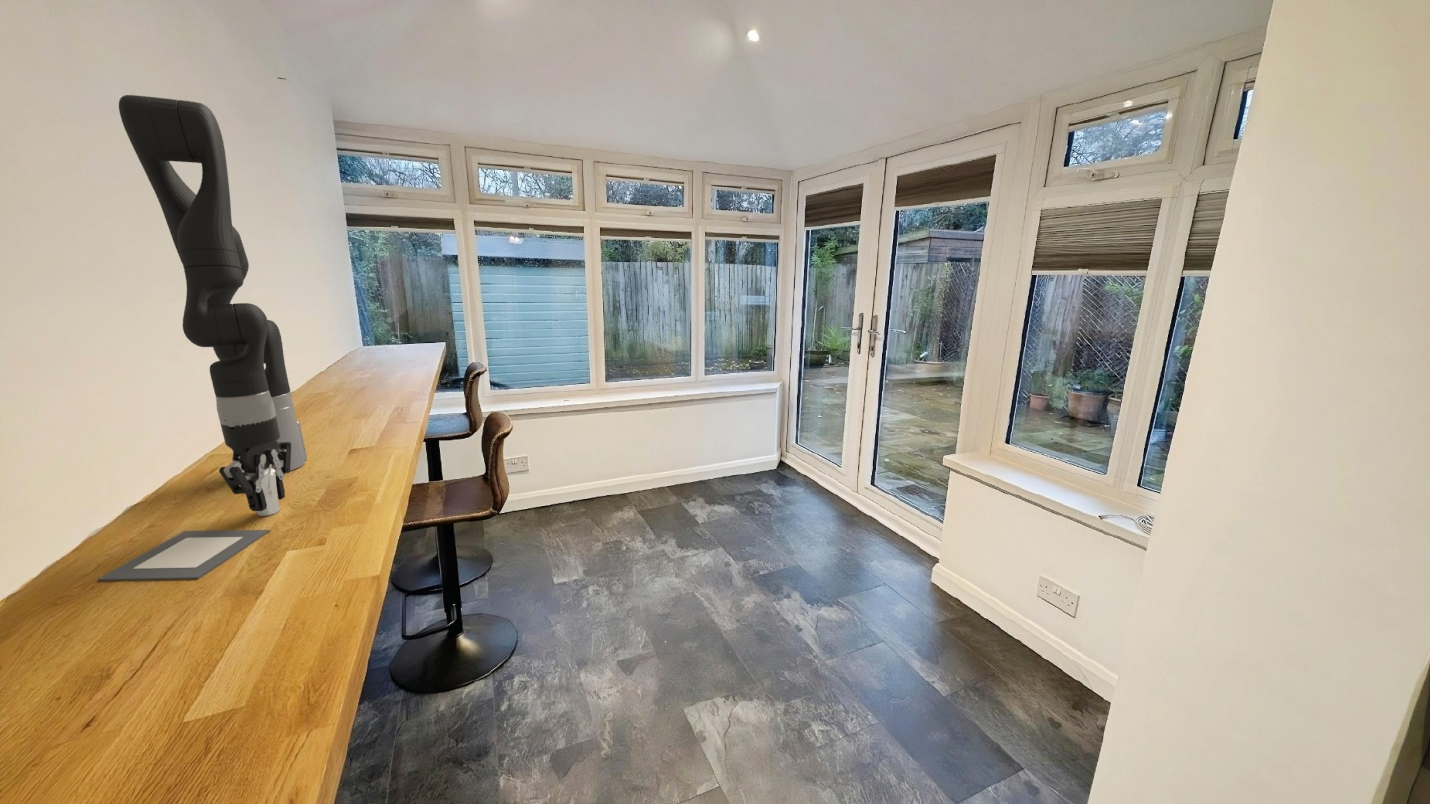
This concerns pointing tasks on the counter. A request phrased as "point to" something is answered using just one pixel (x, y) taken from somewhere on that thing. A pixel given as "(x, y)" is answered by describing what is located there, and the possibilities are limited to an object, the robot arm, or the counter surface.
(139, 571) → the pad
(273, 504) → the milkshake
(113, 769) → the counter surface
